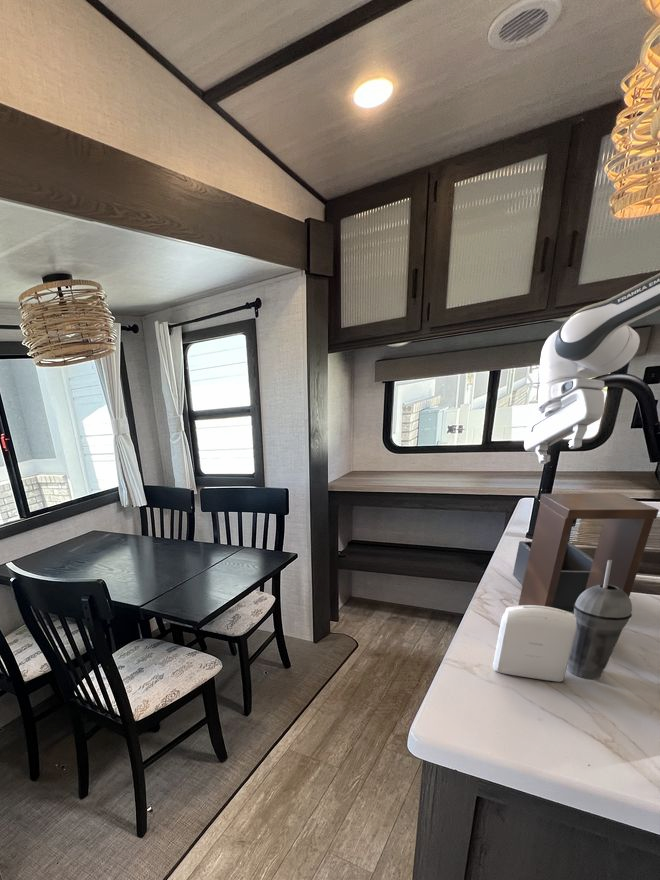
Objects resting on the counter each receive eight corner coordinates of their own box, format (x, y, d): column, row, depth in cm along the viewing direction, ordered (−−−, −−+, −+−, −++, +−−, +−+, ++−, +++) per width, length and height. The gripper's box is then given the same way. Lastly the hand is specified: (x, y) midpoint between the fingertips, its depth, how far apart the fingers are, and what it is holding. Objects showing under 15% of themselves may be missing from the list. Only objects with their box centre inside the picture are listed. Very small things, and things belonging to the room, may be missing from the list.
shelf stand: (581, 621, 94) (617, 492, 84) (613, 654, 83) (659, 509, 72) (514, 618, 98) (541, 493, 87) (535, 648, 86) (569, 509, 76)
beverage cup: (623, 680, 76) (662, 563, 68) (584, 686, 75) (619, 569, 67) (583, 657, 82) (614, 549, 74) (546, 663, 81) (574, 555, 74)
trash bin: (561, 575, 116) (569, 541, 113) (601, 612, 97) (612, 573, 94) (512, 574, 119) (519, 541, 116) (542, 609, 100) (551, 571, 97)
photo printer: (492, 673, 80) (505, 608, 75) (491, 661, 83) (503, 598, 78) (565, 685, 75) (585, 617, 70) (561, 672, 79) (579, 606, 74)
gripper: (518, 417, 121) (516, 469, 120) (582, 374, 101) (580, 436, 100) (541, 420, 121) (540, 471, 120) (611, 377, 101) (609, 439, 100)
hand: (559, 455), depth 110 cm, fingers open, 8 cm apart
